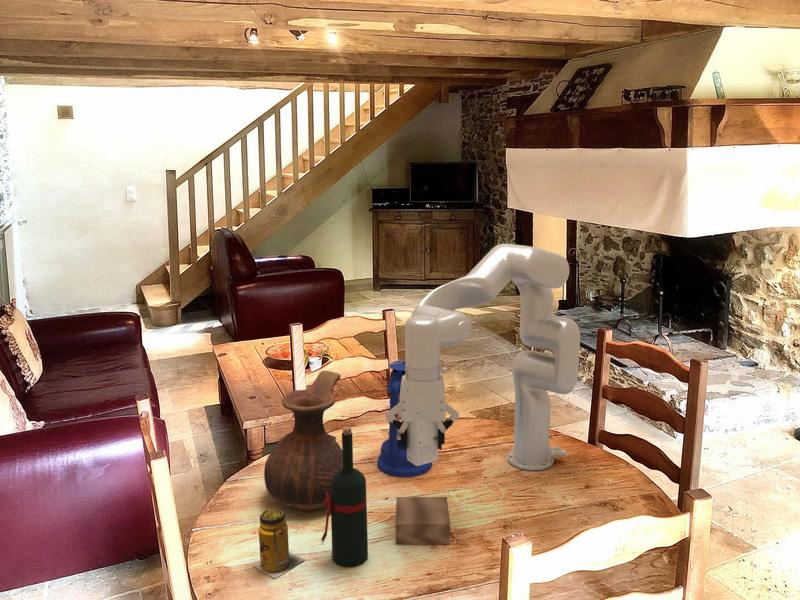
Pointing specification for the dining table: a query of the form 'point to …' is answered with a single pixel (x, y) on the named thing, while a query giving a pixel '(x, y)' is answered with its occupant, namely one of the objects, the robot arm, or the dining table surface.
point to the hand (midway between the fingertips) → (422, 446)
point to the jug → (305, 449)
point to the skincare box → (422, 441)
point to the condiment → (275, 544)
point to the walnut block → (422, 520)
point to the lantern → (397, 435)
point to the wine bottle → (347, 510)
